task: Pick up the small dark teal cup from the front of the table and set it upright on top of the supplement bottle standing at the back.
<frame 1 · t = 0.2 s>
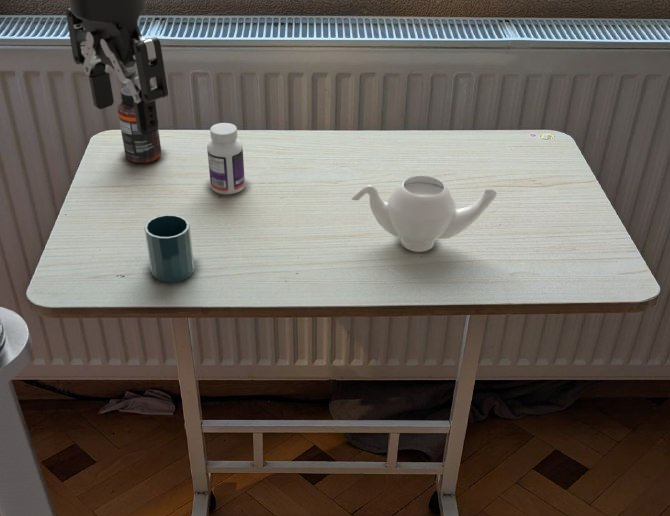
hand: (126, 119, 93), 25 cm above the table, tool pointing down, fingers open, 8 cm apart
teapot: (417, 244, 121), on the table
cup: (172, 270, 115), on the table
pill bottle: (227, 187, 131), on the table
supplement bottle: (143, 157, 138), on the table
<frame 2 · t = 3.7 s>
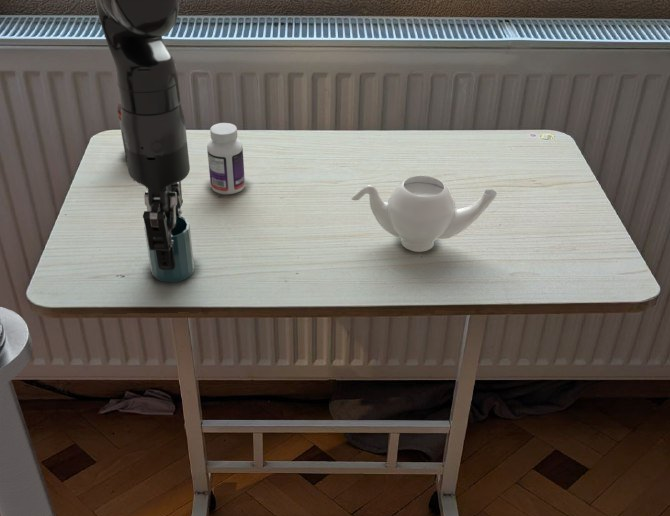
hand: (170, 254, 113), 3 cm above the table, tool pointing down, fingers closed on cup, 5 cm apart
cup: (172, 270, 115), on the table, touching gripper
everything else where it was.
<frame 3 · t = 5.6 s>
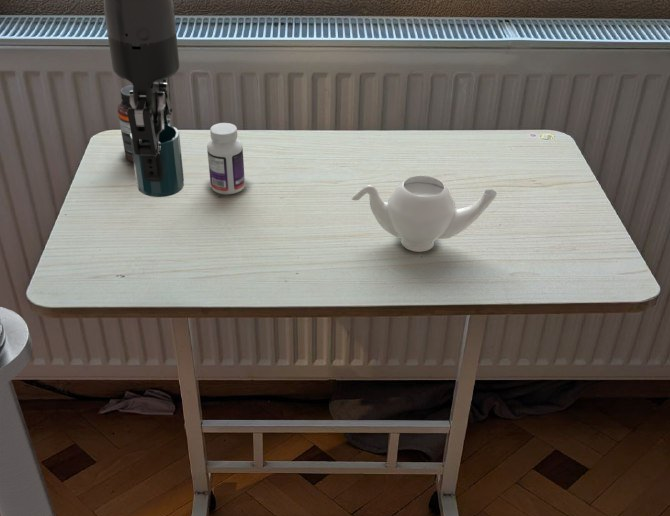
hand: (158, 166, 104), 16 cm above the table, tool pointing down, fingers closed on cup, 5 cm apart
cup: (160, 185, 106), point 13 cm above the table, touching gripper
everything else where it was.
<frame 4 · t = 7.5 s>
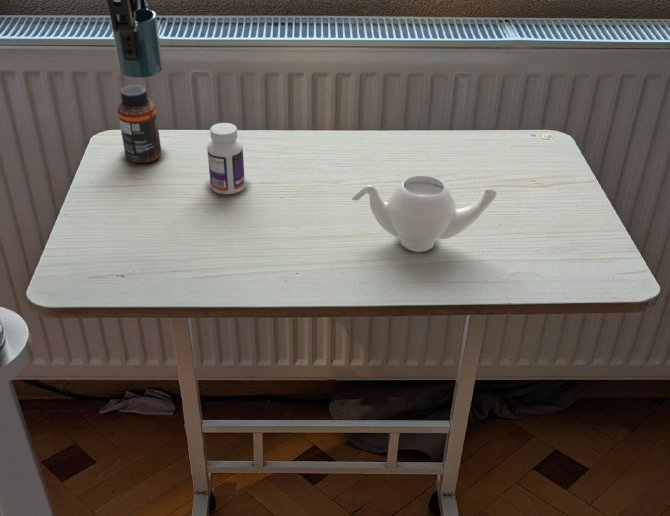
hand: (137, 49, 111), 23 cm above the table, tool pointing down, fingers closed on cup, 5 cm apart
cup: (141, 68, 113), point 20 cm above the table, touching gripper
everything else where it was.
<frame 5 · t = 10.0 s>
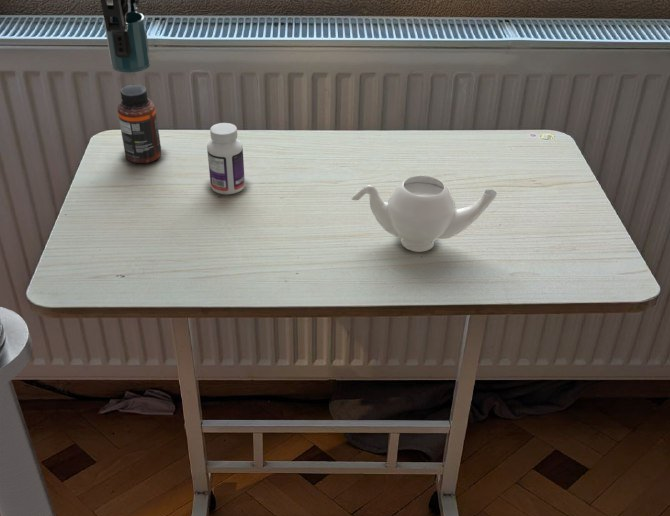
hand: (127, 48, 125), 18 cm above the table, tool pointing down, fingers closed on cup, 5 cm apart
cup: (130, 65, 127), point 15 cm above the table, touching gripper
everything else where it was.
when the fingers open (14 cm above the table, at t = 11.7 s): cup stays where it is, resting on supplement bottle.
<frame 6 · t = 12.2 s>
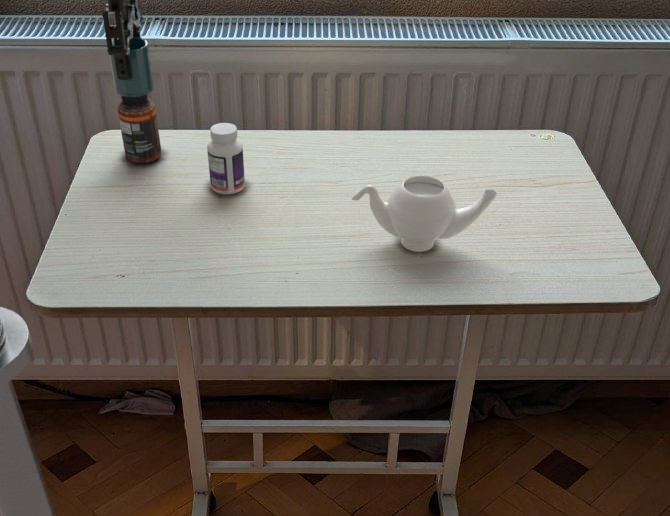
hand: (130, 67, 127), 15 cm above the table, tool pointing down, fingers open, 8 cm apart
cup: (134, 89, 130), point 11 cm above the table, touching supplement bottle
supplement bottle: (143, 157, 138), on the table, touching cup
everything else where it was.
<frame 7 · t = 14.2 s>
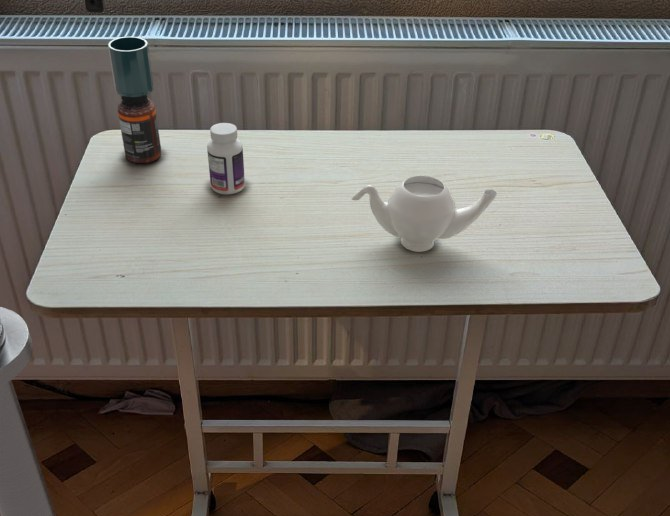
hand: (102, 0, 108), 29 cm above the table, tool pointing down, fingers open, 8 cm apart
nothing on the table moved.
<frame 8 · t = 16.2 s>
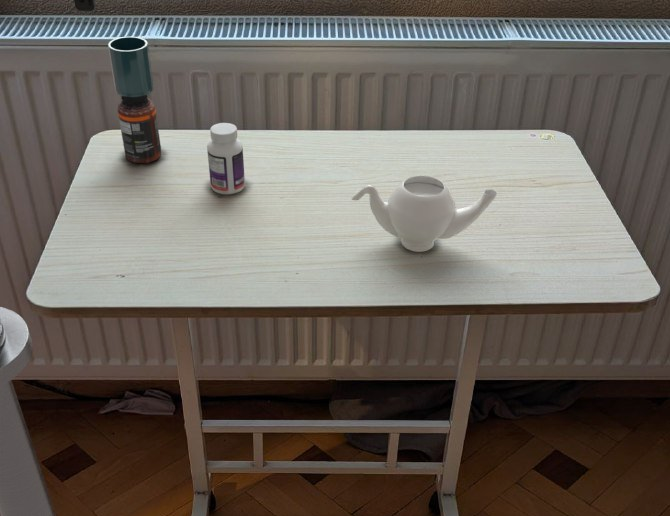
nothing on the table moved.
at the end: cup 0.1 cm off-centre on the supplement bottle, point 11.5 cm above the supplement bottle's base; cup tilted 0°; supplement bottle tilted 0° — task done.
